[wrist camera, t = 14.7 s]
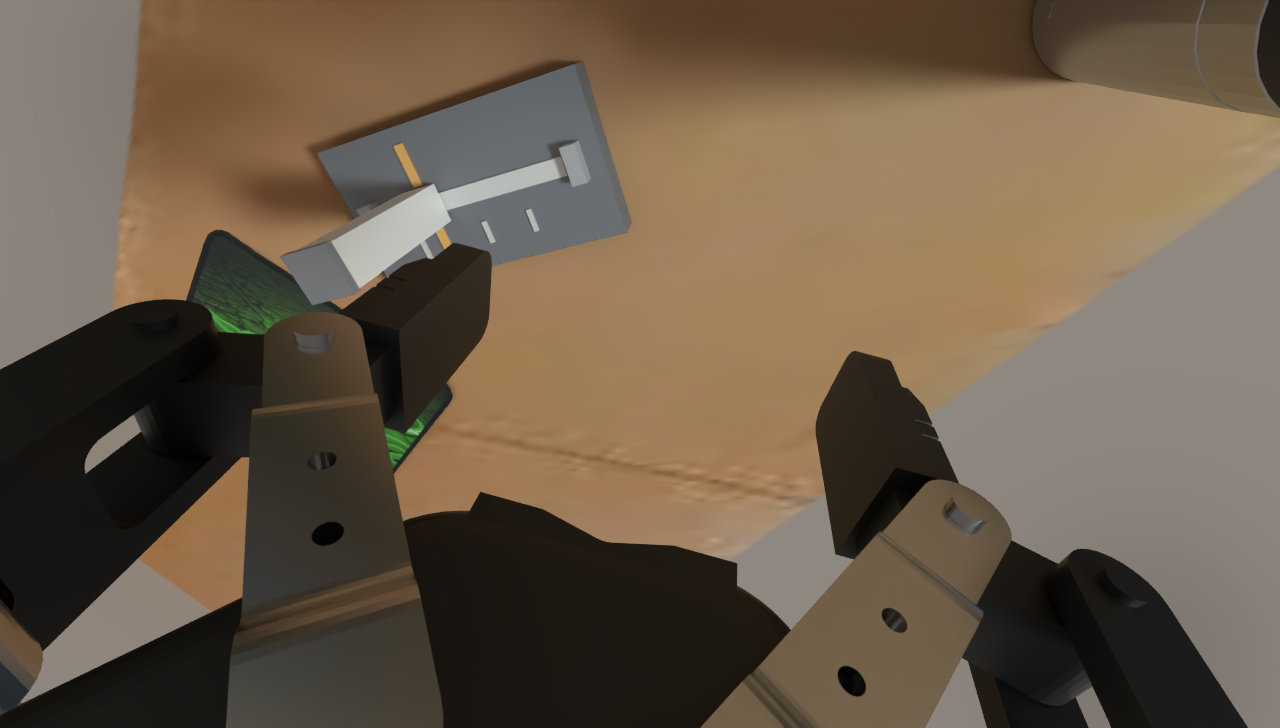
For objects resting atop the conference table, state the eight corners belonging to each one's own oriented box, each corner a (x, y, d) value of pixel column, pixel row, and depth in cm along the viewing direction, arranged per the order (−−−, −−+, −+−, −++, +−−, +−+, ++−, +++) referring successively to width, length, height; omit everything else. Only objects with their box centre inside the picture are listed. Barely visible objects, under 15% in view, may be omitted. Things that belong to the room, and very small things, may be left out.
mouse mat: (167, 361, 60) (159, 366, 60) (211, 217, 50) (202, 220, 49) (382, 488, 67) (378, 494, 66) (462, 386, 56) (458, 392, 56)
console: (582, 61, 38) (569, 65, 35) (631, 222, 44) (624, 237, 41) (335, 147, 44) (306, 156, 41) (408, 278, 50) (387, 296, 47)
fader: (434, 181, 41) (323, 243, 30) (453, 221, 43) (354, 294, 32) (400, 192, 42) (280, 256, 31) (419, 230, 44) (312, 305, 32)
